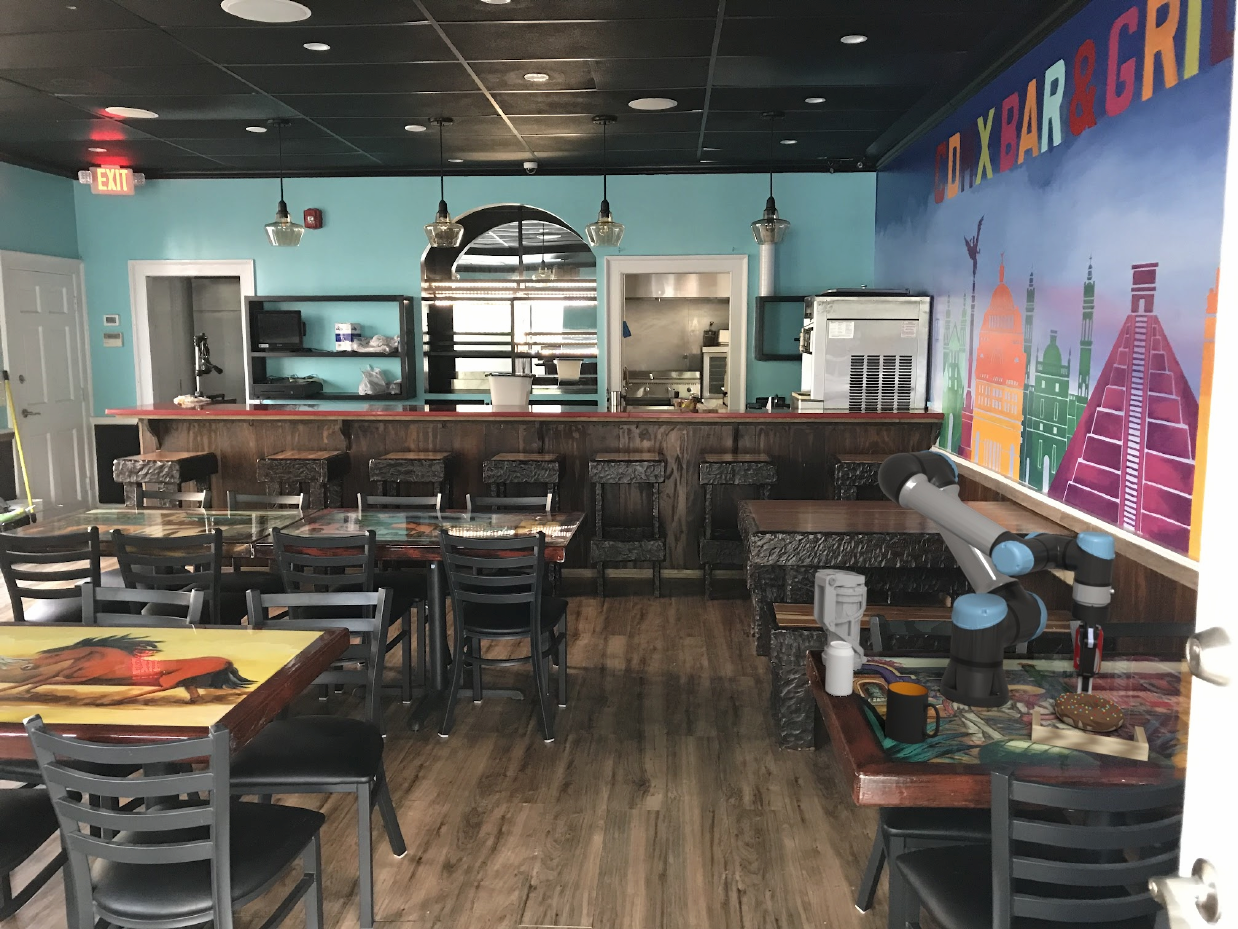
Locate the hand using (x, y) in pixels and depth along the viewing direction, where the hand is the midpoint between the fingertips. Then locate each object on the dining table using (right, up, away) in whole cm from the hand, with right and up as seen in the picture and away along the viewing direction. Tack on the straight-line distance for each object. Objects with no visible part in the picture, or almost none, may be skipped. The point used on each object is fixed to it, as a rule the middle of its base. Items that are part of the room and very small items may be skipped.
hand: (1083, 703), depth 209 cm
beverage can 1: (-53, 0, +8) cm, 54 cm away
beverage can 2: (+14, +1, +26) cm, 29 cm away
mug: (-44, -3, -17) cm, 47 cm away
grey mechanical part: (-49, +2, +28) cm, 56 cm away
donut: (-3, -3, -7) cm, 8 cm away
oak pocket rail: (-8, -4, -17) cm, 19 cm away
